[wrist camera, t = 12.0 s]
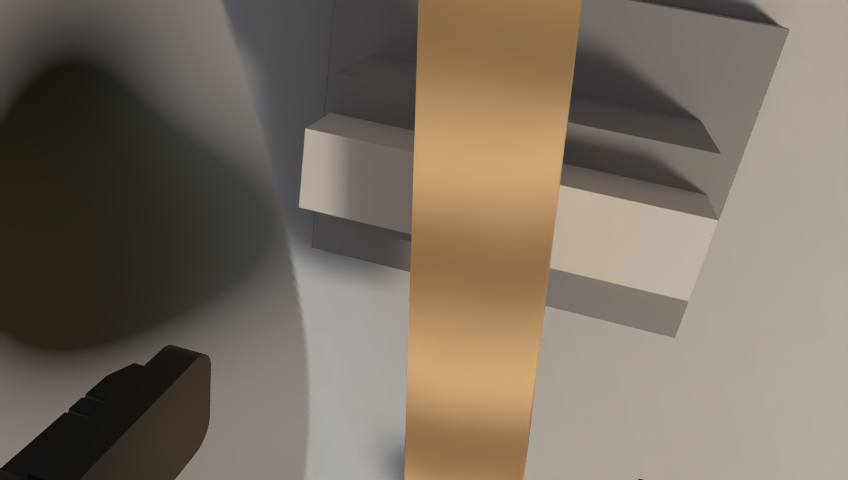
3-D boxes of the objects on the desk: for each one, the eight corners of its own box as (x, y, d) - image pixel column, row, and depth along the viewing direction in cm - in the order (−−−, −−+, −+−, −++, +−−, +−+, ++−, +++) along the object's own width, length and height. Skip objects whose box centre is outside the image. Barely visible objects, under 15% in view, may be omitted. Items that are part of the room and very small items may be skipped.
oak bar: (521, 497, 28) (510, 578, 24) (426, 478, 28) (401, 554, 25) (605, -192, 18) (608, -227, 14) (457, -192, 19) (425, -225, 15)
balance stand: (351, -53, 30) (259, -52, 22) (779, 25, 27) (858, 58, 19) (322, 235, 35) (242, 320, 27) (671, 321, 33) (696, 443, 25)
